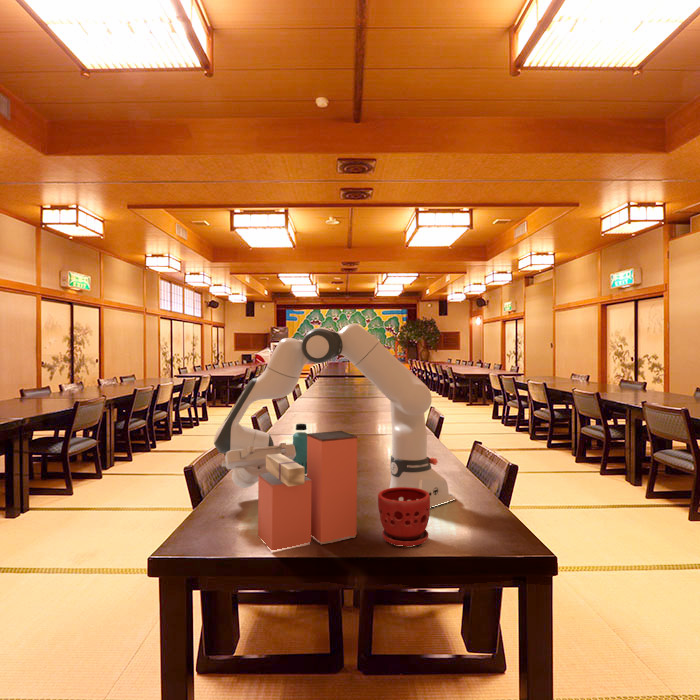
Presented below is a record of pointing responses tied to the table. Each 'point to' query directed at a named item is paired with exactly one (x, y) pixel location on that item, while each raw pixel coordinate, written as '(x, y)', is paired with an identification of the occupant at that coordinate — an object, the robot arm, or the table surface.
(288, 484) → the box
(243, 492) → the table surface
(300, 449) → the beverage bottle
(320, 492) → the stand
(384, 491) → the plant pot
